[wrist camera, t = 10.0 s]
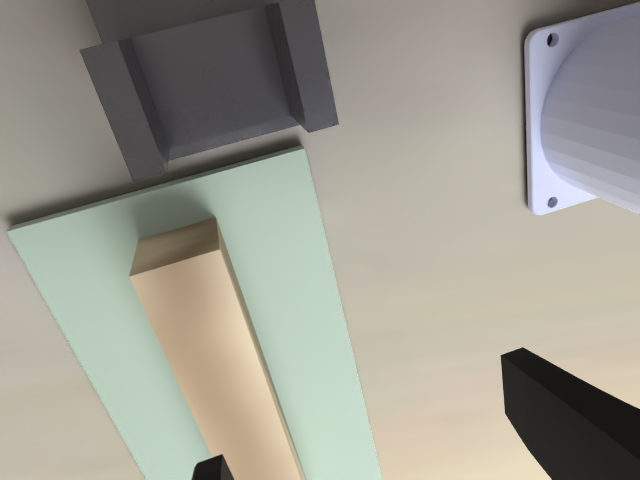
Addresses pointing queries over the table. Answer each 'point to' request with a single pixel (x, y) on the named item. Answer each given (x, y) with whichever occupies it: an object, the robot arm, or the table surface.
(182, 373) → the beech rail
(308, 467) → the green mat
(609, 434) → the robot arm
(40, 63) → the table surface
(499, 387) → the table surface
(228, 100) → the grey u-shaped holder
